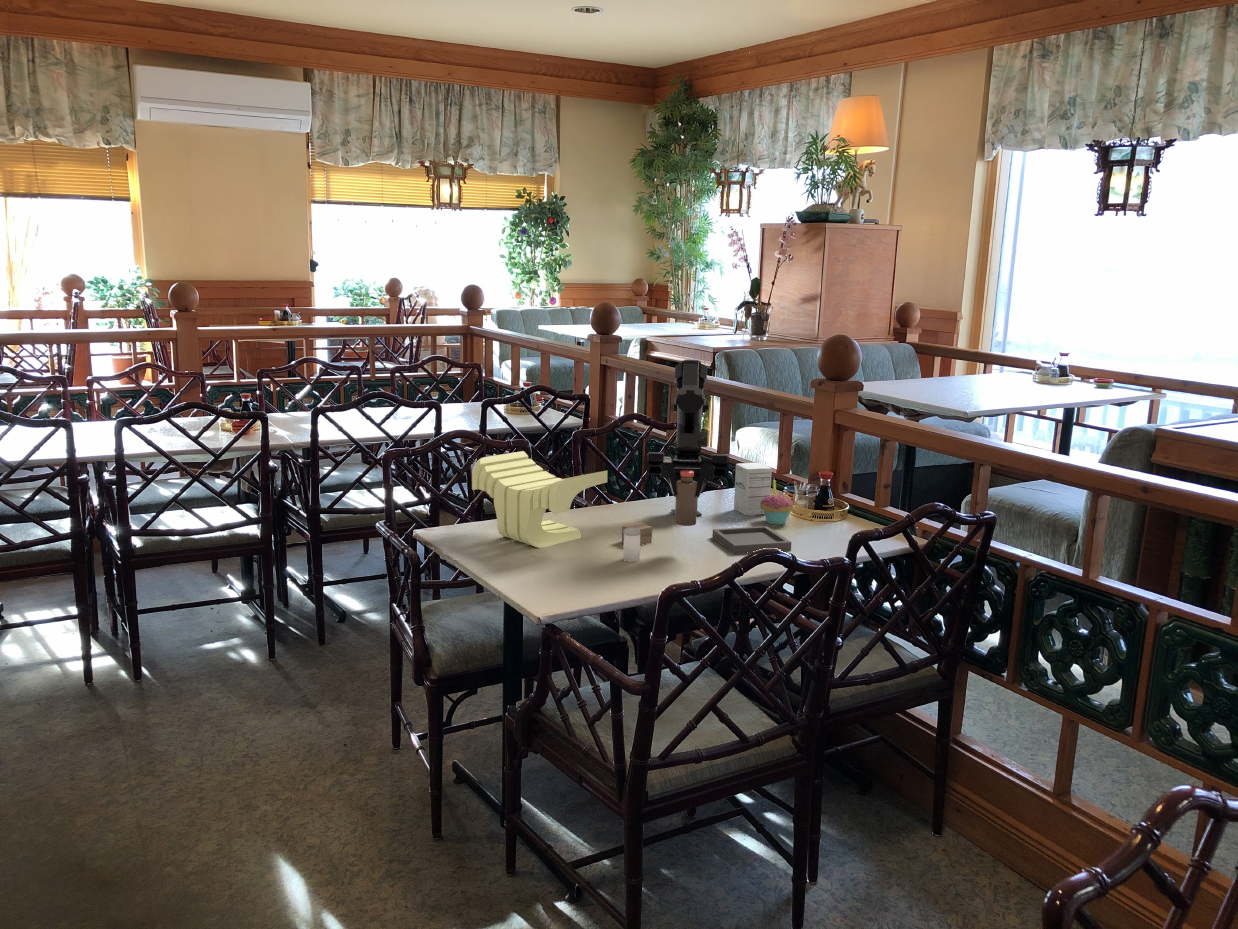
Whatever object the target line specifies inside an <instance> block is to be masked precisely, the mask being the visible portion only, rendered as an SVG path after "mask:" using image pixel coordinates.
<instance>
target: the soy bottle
mask: <svg viewBox="0 0 1238 929" xmlns="http://www.w3.org/2000/svg"><path fill="white" fill-rule="evenodd" d="M680 476H681V480H679V481H676V497H675V505H674V506H675V508H674V509H675V514H674V524H675V525H676V526H683V527H692V526H696V525H697V516H696V512H697V511H698V505H697V482H696V481H693V476H694V471H692V470H681V471H680Z"/></svg>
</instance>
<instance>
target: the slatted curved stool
mask: <svg viewBox="0 0 1238 929" xmlns="http://www.w3.org/2000/svg"><path fill="white" fill-rule="evenodd" d="M606 483H608V470H603V471H597V472H591V473H586V474H582V475H577V476H572V477H570V476H569V477H567V478H561V477H556V475H553V474H552V473H549V472H548V471H546V470H544V469H543V468H542V467H541V466H540V465H536V462H535V461H534V460H533V459H532V458H529V455H528V454H527V453H526V451H524V450H523V451H521V450H520V451H517V452H510V453H509V452H508V453H503V454H497V455H495V454H494V455H489V456H483V457H480V458H479V459H478V460H477V461H476V462H475V463H474V465H473V467H472V471H471V489H472V491H475V490H480V491H482V492H486V494H488V495H489V497H490V498H491V499H493V505H494V510H495V515H496V523H497V524H496V525H497V531H498V533H499V535H501V536H503V537H505V538H508V539H511V540H514V541H516V542H520V543H524V544H526V545H529V546H532V547H535V548H539V549H541V548H546V547H547V548H548V547H550V546H554V545H557V544H561V543H562V544H563V543H566V542H571V541H574V540H575V541H576V540H579V539H581V538H582V535H581V533H580V529H579V528H576V527H572V526H569V525H566V524H563V523H560V522H557V523H556V521H553V520H549V519H547V520H543V517H544V516H545V513H546V511H547V510H548V511H550V512H552V513H553V514H561V513H565V512H570V510H571V505H572V502H573V501H574V500H575V497H577V495H578V494H580V493H581V492H582V491H584V490H587V489H589V488H591V487H592V488H593V487H595V486H597V485H602V484H606Z"/></svg>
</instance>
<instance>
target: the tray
mask: <svg viewBox="0 0 1238 929" xmlns="http://www.w3.org/2000/svg"><path fill="white" fill-rule="evenodd" d="M712 538H713V539H714V540H715V541H717V542H718V543H719V544H721V545H722V546H723V547H724V548H725V549H727V550H728V551H730V553H732V554H733V555H738V554H739V553H742V554H743V553H744V554H753V553H752V552H753V551H756V550H759V549H763V548H778V549H781V550H783V551H782V552H785V551H786V552H787V551H792V541H791V540H789V539H787V538H786V537H785V536H783V535H781V534H780V533H778V532H777V531H775V530H773V529H772V528H771V527H769V526H768V525H766V526H764V525H763V526H762V525H761V526H748V527H747V526H746V527H730V528H729V527H728V528H713V529H712ZM747 552H748V553H747ZM739 555H740V554H739Z"/></svg>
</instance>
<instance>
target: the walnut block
mask: <svg viewBox="0 0 1238 929" xmlns="http://www.w3.org/2000/svg"><path fill="white" fill-rule="evenodd" d="M626 528H638V529H640V546H643V545H642V544H644V545H648V544H647V543H649V544H652V542H653V541H652V539H653V536H652V535H653V526H650V525H647V524H645V523H641V522H639V521H638V522H634V523H629V524H623V525H622V526H621V542H622V541H623V542H622V543H624V529H626Z"/></svg>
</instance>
